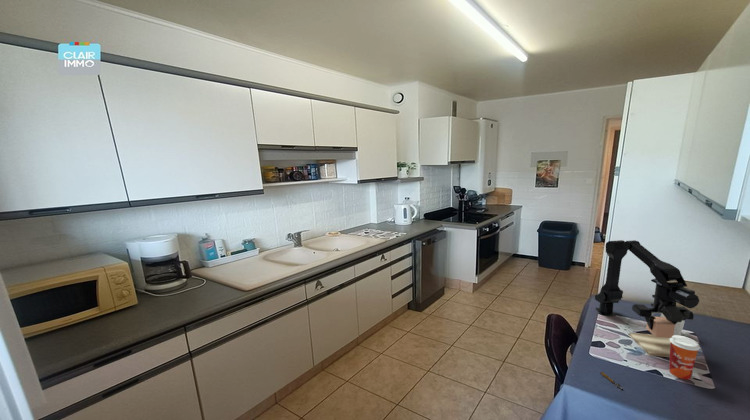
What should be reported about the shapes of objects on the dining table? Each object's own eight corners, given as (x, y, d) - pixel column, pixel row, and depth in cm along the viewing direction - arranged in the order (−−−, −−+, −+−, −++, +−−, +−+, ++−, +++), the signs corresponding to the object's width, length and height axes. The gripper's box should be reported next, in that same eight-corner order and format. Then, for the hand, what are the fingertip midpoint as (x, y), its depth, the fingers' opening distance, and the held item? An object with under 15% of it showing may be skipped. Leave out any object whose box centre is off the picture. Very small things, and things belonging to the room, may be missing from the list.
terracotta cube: (646, 328, 128) (647, 316, 127) (662, 329, 127) (664, 317, 126) (655, 336, 123) (657, 323, 121) (673, 338, 121) (675, 324, 120)
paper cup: (670, 377, 109) (674, 344, 106) (662, 364, 115) (666, 332, 113) (699, 384, 105) (705, 349, 103) (689, 370, 112) (694, 337, 109)
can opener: (599, 374, 113) (600, 371, 113) (605, 373, 113) (606, 371, 113) (619, 392, 104) (620, 389, 104) (626, 392, 104) (626, 389, 104)
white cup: (688, 337, 131) (691, 316, 129) (669, 337, 131) (672, 317, 129) (670, 327, 138) (673, 307, 137) (653, 327, 139) (656, 308, 137)
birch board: (628, 335, 134) (629, 332, 134) (665, 337, 131) (665, 335, 131) (649, 355, 121) (649, 352, 120) (690, 358, 118) (691, 356, 117)
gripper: (650, 304, 116) (646, 339, 119) (708, 307, 112) (702, 343, 115) (633, 291, 127) (629, 324, 130) (685, 293, 122) (680, 327, 125)
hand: (659, 329), depth 125 cm, fingers closed on terracotta cube, 6 cm apart
